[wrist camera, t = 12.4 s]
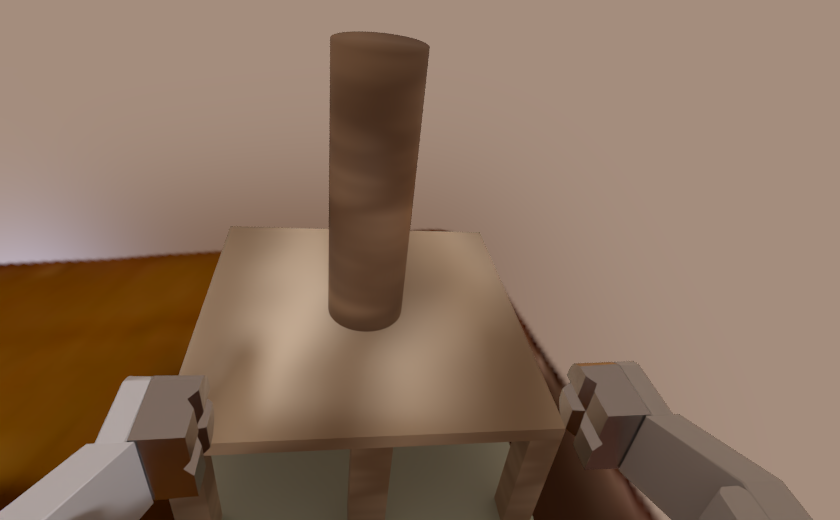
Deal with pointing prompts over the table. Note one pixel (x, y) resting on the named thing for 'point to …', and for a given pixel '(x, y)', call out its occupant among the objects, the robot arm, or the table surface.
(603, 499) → the table surface
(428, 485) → the mat
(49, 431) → the table surface
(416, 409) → the wooden peg stand
